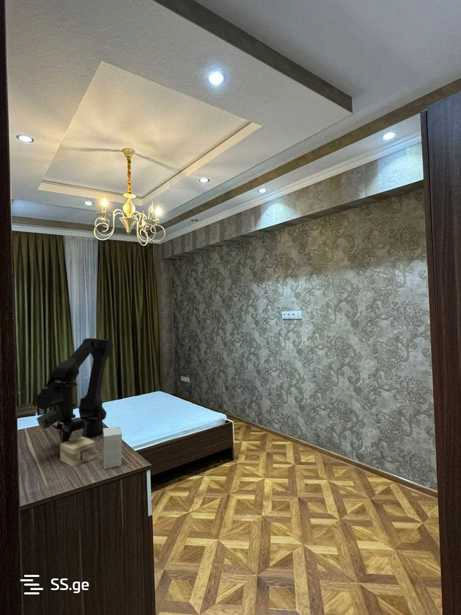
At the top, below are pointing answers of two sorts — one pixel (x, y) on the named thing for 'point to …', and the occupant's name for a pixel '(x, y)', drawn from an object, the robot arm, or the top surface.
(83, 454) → the pin
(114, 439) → the small box
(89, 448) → the block
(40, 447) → the top surface
